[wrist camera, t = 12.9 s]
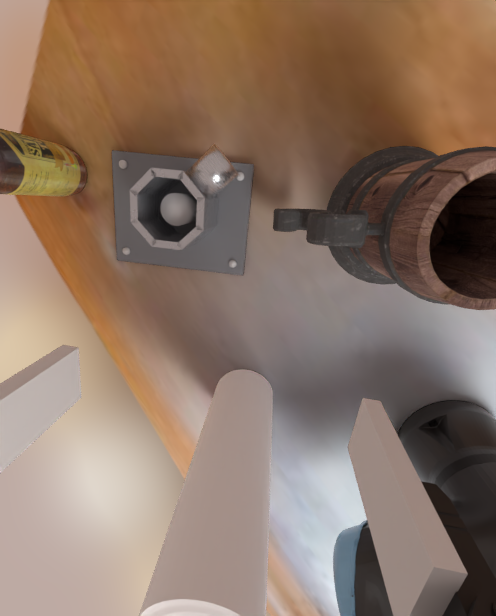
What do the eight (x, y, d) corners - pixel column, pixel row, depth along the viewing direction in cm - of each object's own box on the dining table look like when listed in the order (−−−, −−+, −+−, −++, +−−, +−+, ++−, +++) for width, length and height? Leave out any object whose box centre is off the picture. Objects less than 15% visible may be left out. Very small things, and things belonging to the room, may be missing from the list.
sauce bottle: (93, 156, 39) (-73, 116, 21) (85, 203, 42) (-73, 205, 23) (46, 136, 39) (-166, 78, 21) (40, 185, 41) (-157, 172, 23)
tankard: (480, 145, 35) (714, 81, 16) (446, 286, 41) (590, 360, 22) (277, 145, 37) (275, 88, 18) (271, 280, 43) (265, 341, 24)
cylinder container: (204, 396, 50) (110, 644, 22) (238, 358, 47) (178, 589, 19) (249, 427, 52) (213, 700, 23) (285, 392, 49) (292, 656, 20)
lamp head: (186, 251, 41) (166, 263, 34) (146, 204, 40) (115, 204, 32) (254, 192, 38) (248, 190, 31) (213, 137, 36) (196, 120, 29)
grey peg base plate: (254, 165, 38) (249, 158, 32) (243, 273, 43) (238, 284, 37) (115, 151, 39) (88, 143, 33) (120, 258, 44) (97, 267, 38)
